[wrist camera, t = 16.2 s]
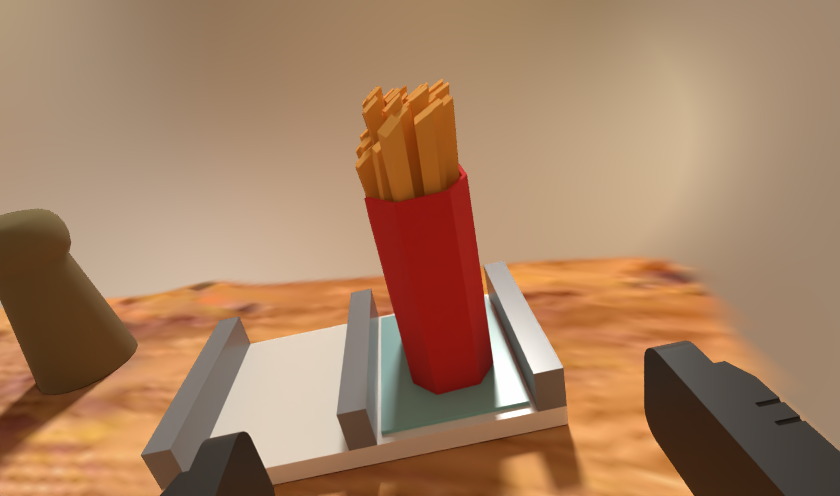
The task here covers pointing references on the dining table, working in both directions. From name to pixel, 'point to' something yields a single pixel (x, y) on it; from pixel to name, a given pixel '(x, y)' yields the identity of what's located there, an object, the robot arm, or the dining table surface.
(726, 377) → the robot arm
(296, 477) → the slot rack
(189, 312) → the dining table surface
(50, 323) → the cork
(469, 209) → the french fries
